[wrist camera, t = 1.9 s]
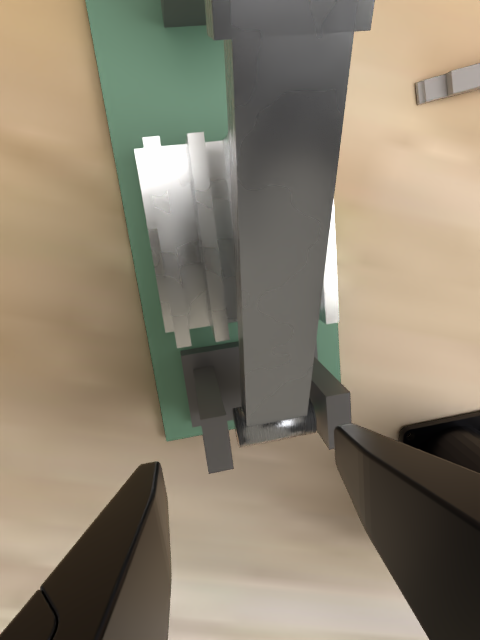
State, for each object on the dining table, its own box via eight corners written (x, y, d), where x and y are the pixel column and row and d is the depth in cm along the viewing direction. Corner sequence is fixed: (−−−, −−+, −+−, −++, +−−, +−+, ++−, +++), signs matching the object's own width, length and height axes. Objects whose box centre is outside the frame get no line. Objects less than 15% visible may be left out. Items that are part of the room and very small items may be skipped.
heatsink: (308, 137, 19) (342, 118, 15) (318, 300, 21) (350, 320, 18) (136, 153, 18) (128, 139, 14) (165, 324, 20) (164, 350, 17)
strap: (356, -75, 8) (394, -83, 7) (302, 410, 18) (314, 440, 17) (198, -69, 8) (209, -77, 7) (233, 423, 18) (240, 455, 17)
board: (314, -47, 18) (319, -56, 17) (337, 403, 24) (341, 408, 23) (79, -38, 17) (76, -47, 16) (166, 435, 23) (166, 441, 22)
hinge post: (311, 329, 22) (361, 372, 16) (315, 397, 23) (364, 459, 17) (180, 350, 21) (184, 403, 15) (191, 419, 22) (199, 493, 16)
